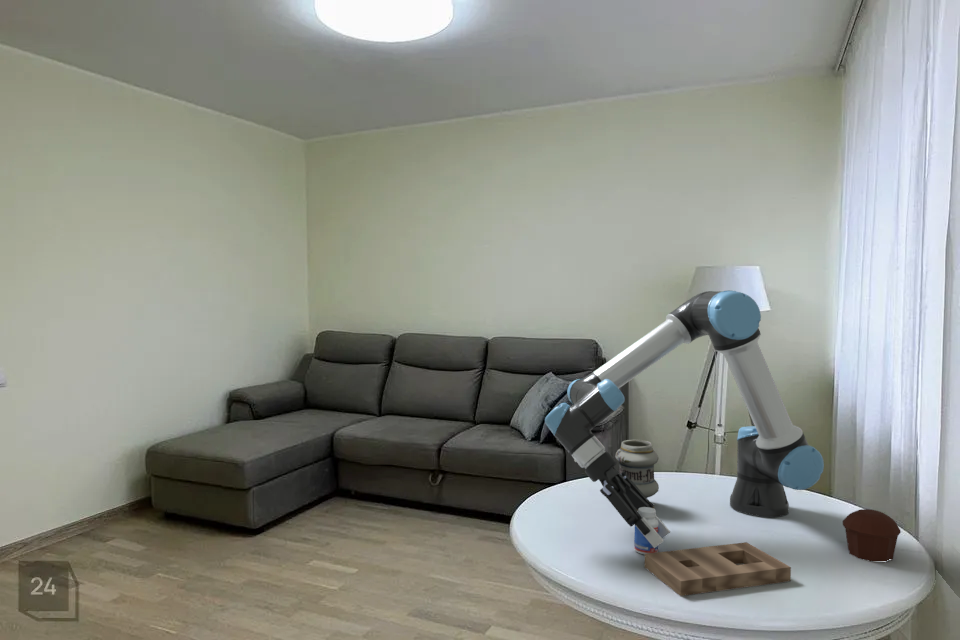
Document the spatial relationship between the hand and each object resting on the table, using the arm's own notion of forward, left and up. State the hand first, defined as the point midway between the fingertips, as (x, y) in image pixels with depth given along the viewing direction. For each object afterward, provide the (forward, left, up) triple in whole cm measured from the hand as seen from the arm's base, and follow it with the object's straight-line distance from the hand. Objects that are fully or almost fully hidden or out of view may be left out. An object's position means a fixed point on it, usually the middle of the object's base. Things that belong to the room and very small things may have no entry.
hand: (662, 539), depth 148 cm
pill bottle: (+3, -3, -4) cm, 5 cm away
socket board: (-5, +12, -3) cm, 14 cm away
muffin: (-46, +12, -4) cm, 48 cm away
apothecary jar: (-11, -33, -4) cm, 35 cm away
